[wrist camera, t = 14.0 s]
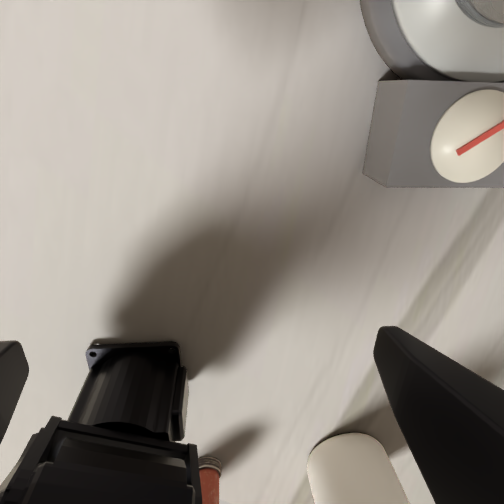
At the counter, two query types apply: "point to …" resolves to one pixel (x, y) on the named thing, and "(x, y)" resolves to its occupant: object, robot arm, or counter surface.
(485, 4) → the disc
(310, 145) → the counter surface
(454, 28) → the kitchen scale
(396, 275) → the counter surface
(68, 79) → the counter surface
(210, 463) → the lighter
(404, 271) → the counter surface
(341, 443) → the milk bottle
